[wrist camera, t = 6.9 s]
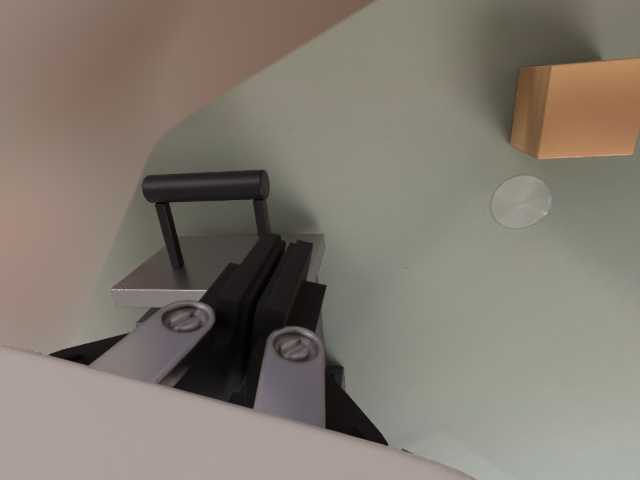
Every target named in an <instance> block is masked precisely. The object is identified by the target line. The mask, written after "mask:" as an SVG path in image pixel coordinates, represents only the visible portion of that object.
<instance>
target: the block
mask: <svg viewBox="0 0 640 480" xmlns="http://www.w3.org/2000/svg"><path fill="white" fill-rule="evenodd" d="M639 128H640V57H639V58H626V59H613V60H601V61H590V62H578V63H567V64H555V65H544V66H532V67H521V68H519V75H518V83H517V91H516V99H515V107H514V115H513V123H512V132H511V140H510V145H511V146H513V147H515V148H517V149H519V150H521V151H523V152H525V153H527V154H528V155H530V156H532V157H534V158H536V159H553V158H574V157H595V156H616V155H632V154H633V152H634V148H635V144H636V140H637V136H638V132H639Z"/></svg>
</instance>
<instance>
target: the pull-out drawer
mask: <svg viewBox="0 0 640 480" xmlns="http://www.w3.org/2000/svg"><path fill="white" fill-rule="evenodd" d="M142 191H143V195H144V197H145V198H146V200H147V201H149V202H151V203H156V204H155V207H156V211H157V214H158V218H159V222H160V225H161V229H162V233H163V236H164V240H165V244H166V246H165V247H164V248H162V249H161V250H160V251H158V252H157V253H156V254H155V255H153V256H152V257H151V258H150V259H148V260H147V261H146V262H144V263H143V264H142V265H141V266H139V267H138V268H137V269H135V270H134V271H133V272H132V273H130V274H129V275H128V276H127V277H125V278H124V279H123V280H121V281H120V282H119V283H118V284H116V285H115V286H114V287H113V288H111V289H110V291H111V294H112V297H113V300H114V302H115V305H116V307H151V308H150V309H149V310H148V311H147V313H146V314H145V315H144V316H143V317H142V318H141V319H140V320H139V321H138V322H137V323H136V327H138V326H139V325H141V324H142V323H143V322H144V321H146V320H147V319H148V318H149V317H151V316H152V315H153V314H154V313H156V312H157V311H158V310H160V309H161V308H162V307H164V306H166V305H167V304H170V303H173V302H176V301H182V300H195V301H199V300H200V299H201V298H202V296H203V295H204V294H205V293H206V291H207V290H208V289H209V288H210V286H211V285H212V284H213V283H214V281H215V280H216V279H217V278H218V276H219V275H220V274H221V273H222V271H223V270H224V269H225V268H226V266H227V265H228V264H229V263H236V264H241V263H242V261H243V260H244V259H245V257H246V256H247V255H248V253H249V252H250V250H251V249H252V248H253V246H254V245H255V244H256V242H257V241H258V240H259V238H260V237H261V236H262V234H263V233H264V232H268V233H271V231H270V224H269V217H268V211H267V204H266V198H268V195H269V191H270V183H269V177H268V174H267V172H266V171H265V170H246V171H226V172H206V173H185V174H165V175H149V176H147V177H145V178H144V180H143V183H142ZM252 199H254V200H253V204H254V210H255V217H256V223H257V229H258V235H230V236H177V232H176V228H175V224H174V221H173V217H172V213H171V209H170V205H169V202H195V201H224V200H252ZM280 236H281V240H283V241H286V247H285V251H286V249H287V247H288V246H289V244H290V242H292V243H296V241H297V240H302V241H306V242H310V243H314V245H313V251H312V256H311V261H310V266H309V271H308V276H307V281H310V282H314V283H318V274H317V273H318V270H319V267H320V264H321V261H322V257H323V254H324V251H325V237H324V234H286V235H280ZM315 334H316V335H317V336H319V338H320V339H321V341H322V342H323V345H324V337H323V327H322V316H321V312H320V316H319V320H318V324H317V328H316V333H315ZM324 354H325V348H324ZM325 369H326V358H325ZM326 370H327V369H326ZM245 383H246V379H245V381H244V383H243V386H242V388H241V390H240V392H235V391H233V392H232V394H231V397H230V399H229V401H228V403H232V404H236V405H239V406H243V407H246V406H245V397H246V394H244V390H245Z"/></svg>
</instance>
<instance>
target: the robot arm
mask: <svg viewBox="0 0 640 480" xmlns="http://www.w3.org/2000/svg"><path fill="white" fill-rule="evenodd" d="M313 245H314V243H310V242H306V241H302V240H297V241H296V243H292V242H290V244H289V246H288V247H287V249H286V251H285V247H286V241H283V240H281V236H280V235H276V234H272V233H268V232H264V233H263V234H262V236H261V237H260V238H259V240H258V241H257V242H256V244H255V245H254V246H253V248H252V249H251V250H250V252H249V253H248V255H247V256H246V257H245V259H244V260H243V261H242V263H241V264H236V263H229V264H228V265H227V266H226V268H225V269H224V270H223V271H222V273H221V274H220V275H219V276H218V278H217V279H216V280H215V281H214V283H213V284H212V285H211V286H210V288H209V289H208V290H207V291H206V293H205V294H204V295H203V296H202V298H201V299H200V300H199V301H195V300H182V301H176V302H173V303H170V304H167V305H166V306H164V307H162V308H161V309H160V310H158V311H157V312H156V313H154V314H153V315H152V316H151V317H149V318H148V319H147V320H146V321H144V322H143V323H142V324H141V325H139V326H138V327H137V328H136V329H134V330H133V331H132V332H130V333H127V334H123V335H119V336H115V337H111V338H107V339H103V340H99V341H95V342H91V343H87V344H83V345H79V346H75V347H71V348H67V349H63V350H60V351H57V352H55V353H51V354H49V355H45V354H42V353H37V352H33V351H29V350H25V349H21V348H17V347H13V346H9V345H5V344H1V343H0V480H477V479H475V478H473V477H471V476H469V475H467V474H465V473H463V472H461V471H459V470H456V469H454V468H451V467H449V466H446V465H444V464H441V463H439V462H436V461H434V460H431V459H427V458H424V457H421V456H418V455H415V454H413V453H411V452H409V451H407V450H405V449H403V448H402V450H398V449H395V448H392V447H389V446H388V443H387V441H386V440H385V438H384V437H383V435H382V434H381V433H380V431H379V430H378V429H377V428H376V427H375V426H374V425H373V423H372V422H371V421H370V420H369V419H368V418H367V416H366V415H365V414H364V413H363V412H362V411H361V409H360V408H359V407H358V406H357V405H356V404H355V402H354V401H353V400H352V399H351V398H350V397H349V396H348V394H347V393H346V392H345V391H344V390H343V389H342V387H341V386H340V385H339V384H338V383H337V382H336V380H335V379H334V378H333V377H332V376H331V375H330V373H329V372H328V371H327V370H326V369H325V354H324V345H323V342H322V341H321V339H320V338H319V336H317V335H316V334H315V333H316V328H317V324H318V320H319V316H320V312H321V307H322V303H323V299H324V294H325V290H326V285H323V284H318V283H314V282H310V281H307V276H308V271H309V266H310V261H311V256H312V251H313ZM245 379H246V383H245V390H244V394H246V397H245V406H246V407H243V406H239V405H236V404H232V403H228V401H229V399H230V397H231V394H232V392H233V391H235V392H240V390H241V388H242V386H243V383H244V381H245Z"/></svg>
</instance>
